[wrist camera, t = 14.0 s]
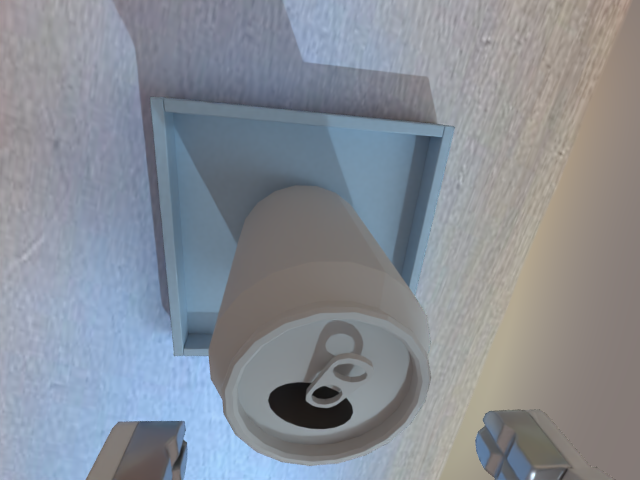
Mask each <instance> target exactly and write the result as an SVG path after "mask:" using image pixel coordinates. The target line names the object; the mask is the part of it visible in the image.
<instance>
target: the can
mask: <svg viewBox="0 0 640 480" xmlns="http://www.w3.org/2000/svg"><path fill="white" fill-rule="evenodd" d="M430 344H431V340H430V333H429V327H428V320H427V315H426V314H425V312H424V310H423V309H422V307H421V305H420V304H419V302H418V301H417V299H416V297H415V296H414V294H413V293H412V291H411V290H410V288H409V287H408V285H407V284H406V283H405V281H404V280H403V278H402V277H401V275H400V274H399V273H398V271H397V270H396V268H395V267H394V265H393V264H392V263H391V261H390V260H389V258H388V257H387V256H386V254H385V253H384V251H383V250H382V248H381V247H380V246H379V244H378V243H377V241H376V240H375V238H374V237H373V236H372V234H371V233H370V231H369V230H368V229H367V227H366V226H365V224H364V223H363V221H362V220H361V219H360V217H359V216H358V214H357V213H356V211H355V210H354V209H353V207H352V206H351V205H350V204H349V203H348V202H347V201H345V200H344V199H343V198H342V197H340V196H339V195H338V194H336V193H335V192H332V191H329V190H326V189H324V188H321V187H318V186H302V185H295V186H291V187H288V188H284V189H281V190H277V191H274V192H273V193H271V194H270V195H268V196H267V197H265V198H264V199H262V200H261V201H260V202H258V203H257V204H256V206H255V207H254V208H253V209H252V211H251V212H250V213H249V215H248V216H247V217H246V219H245V221H244V225H243V228H242V231H241V234H240V237H239V241H238V244H237V248H236V252H235V255H234V259H233V262H232V266H231V270H230V273H229V277H228V281H227V284H226V288H225V292H224V295H223V299H222V302H221V306H220V310H219V313H218V317H217V321H216V324H215V328H214V332H213V335H212V339H211V342H210V346H209V350H208V353H209V364H210V375H211V380H212V382H213V384H214V385H215V387H216V389H217V391H218V393H219V395H220V396H221V398H222V400H223V413H224V415H225V417H226V419H227V420H228V422H229V424H230V426H231V428H232V429H233V431H234V433H235V435H236V436H238V437H239V438H240V439H241V440H242V441H244V442H245V443H246V444H247V445H249V446H250V447H251V448H252V449H253V450H255V451H256V452H258V453H260V454H263V455H265V456H268V457H270V458H273V459H275V460H278V461H280V462H285V463H292V464H300V465H307V466H313V465H325V464H337V463H341V462H345V461H348V460H351V459H355V458H358V457H362V456H365V455H367V454H369V453H371V452H373V451H374V450H376V449H378V448H380V447H382V446H384V445H386V444H388V443H389V442H391V441H392V440H393V439H394V438H395V437H396V436H398V435H399V434H400V433H401V432H402V431H403V430H404V429H406V428H407V427H408V426H409V425H410V424H411V423H412V421H413V419H414V418H415V416H416V415H417V413H418V412H419V410H420V409H421V407H422V406H423V404H424V403H425V401H426V397H427V393H428V389H429V385H430V381H431V373H430V367H429V360H428V353H429V349H430Z"/></svg>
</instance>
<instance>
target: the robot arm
mask: <svg viewBox="0 0 640 480" xmlns="http://www.w3.org/2000/svg"><path fill="white" fill-rule="evenodd" d="M483 422H484V424H485V426H484V427H483V428H482V429H481V430H480V431H478V434H477V437H476V440H475V441H476V451H477V454H478V457H479V460H480V462H481V464H482V466H483V468H484V469H485V470H486V471H487V472H488V473H489V474H490V475H492V476H493V477H494V478H495V480H615V479H614V478H613V477H611V476H610V475H608V474H607V473H605V472H604V471H602V470H600V469H599V468H597V467H591V466H590V465H589V464H588V462H587V461H586V460H585V459H584V458H583V456H582V455H581V454H580V453H579V452H578V451H577V449H576V448H575V447H574V446H573V445H572V443H571V442H570V441H569V440H568V439H567V438H566V436H565V435H564V434H563V433H562V432H561V430H560V429H559V428H558V427H557V426H556V425H555V423H554V422H553V421H552V420H551V419H550V418H549V416H548V415H547V414H546V413H545V412H543V411H541V410H501V411H489V412H488V413H486V414H485V416H484V418H483ZM185 431H186V428H185V421H129V422H118V423H117V424H116V425H115V426H114V427H113V428H112V430H111V432H110V434H109V436H108V438H107V440H106V442H105V444H104V445H103V447H102V449H101V451H100V453H99V455H98V457H97V459H96V461H95V463H94V465H93V467H92V469H91V471H90V473H89V474H88V476H87V478H86V480H183V479H184V475H185V469H186V463H187V442H185V441H184V440H183V439H184V435H185Z"/></svg>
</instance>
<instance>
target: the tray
mask: <svg viewBox="0 0 640 480" xmlns="http://www.w3.org/2000/svg"><path fill="white" fill-rule="evenodd" d="M150 104H151V115H152V126H153V136H154V147H155V158H156V168H157V179H158V189H159V200H160V211H161V221H162V232H163V243H164V253H165V264H166V274H167V285H168V296H169V306H170V317H171V327H172V338H173V349H174V356H209V353H208V350H209V346H210V342H211V339H212V335H213V332H214V328H215V324H216V321H217V317H218V313H219V310H220V306H221V302H222V299H223V295H224V292H225V288H226V284H227V281H228V277H229V273H230V270H231V266H232V262H233V259H234V255H235V252H236V248H237V244H238V241H239V237H240V234H241V231H242V228H243V225H244V221H245V219H246V217H247V216H248V215H249V213H250V212H251V211H252V209H253V208H254V207H255V206H256V204H257V203H258V202H260V201H261V200H262V199H264V198H265V197H267V196H268V195H270V194H271V193H273V192H274V191H277V190H281V189H284V188H288V187H291V186H295V185H302V186H318V187H321V188H324V189H326V190H329V191H332V192H335V193H336V194H338V195H339V196H340V197H342V198H343V199H344V200H345V201H347V202H348V203H349V204H350V205H351V206H352V207H353V209H354V210H355V211H356V213H357V214H358V216H359V217H360V219H361V220H362V221H363V223H364V224H365V226H366V227H367V229H368V230H369V231H370V233H371V234H372V236H373V237H374V238H375V240H376V241H377V243H378V244H379V246H380V247H381V248H382V250H383V251H384V253H385V254H386V256H387V257H388V258H389V260H390V261H391V263H392V264H393V265H394V267H395V268H396V270H397V271H398V273H399V274H400V275H401V277H402V278H403V280H404V281H405V283H406V284H407V285H408V287H409V288H410V290H411V291H412V293H413V294H414V296H415V294H416V290H417V286H418V281H419V277H420V273H421V269H422V264H423V260H424V256H425V252H426V247H427V243H428V239H429V235H430V231H431V226H432V222H433V218H434V214H435V209H436V205H437V201H438V197H439V192H440V188H441V184H442V180H443V175H444V171H445V167H446V163H447V159H448V154H449V150H450V146H451V142H452V137H453V133H454V129H455V127H454V126H448V125H441V124H432V123H422V122H412V121H402V120H391V119H381V118H371V117H361V116H351V115H340V114H330V113H320V112H310V111H299V110H289V109H279V108H269V107H259V106H248V105H238V104H228V103H218V102H207V101H197V100H187V99H177V98H166V97H150Z"/></svg>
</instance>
